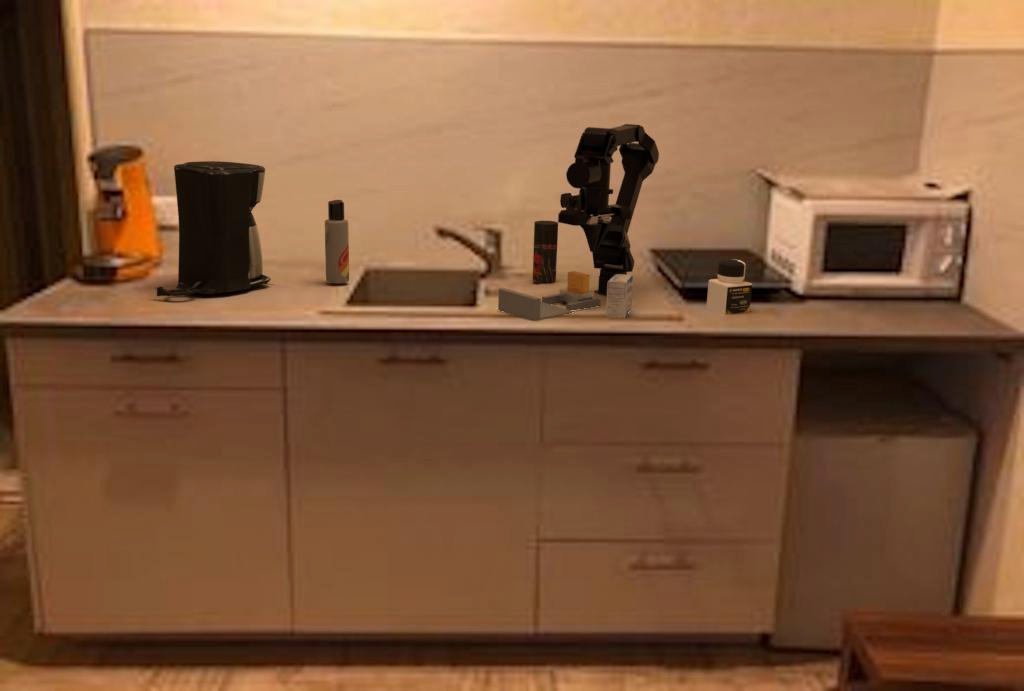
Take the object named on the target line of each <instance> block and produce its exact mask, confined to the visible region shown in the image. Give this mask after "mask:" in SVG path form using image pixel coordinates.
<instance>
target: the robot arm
mask: <svg viewBox="0 0 1024 691" xmlns="http://www.w3.org/2000/svg"><path fill="white" fill-rule="evenodd" d="M618 147H619V148H618ZM617 151H619V154H620V157H621V165H622V169H623V171H624V173H623V174H624V175H623V178H622V182H621V185H620V187H619V191H618V194H617V198H616V201H615V204H609V202H610V195H613V194H614V189H613V188H610V186H611V185H610V182H611V166H612V165H611V164H613V163H614V159H613V156H614V153H616V152H617ZM573 155H574V156H573V157H574V160H575V161H574V162H573V163H571V164H570V165H569V166H568V168H567V171H566V173H565V175H566V180H567V182H568V184H569V186H571V187H572V188H574V189H579V190H578V192H579V193H578V194H577V195H576V194H575V195H574V194H572V193H571V192H564V193H562V194H560V198H559V199H560V200H559V201H560V207H561V208H563V209H561V210H560V212H558V214H557V215H558V216H557V219H558V220H557V222H558V224H559V223H560V224H565V225H569V226H574V227H575V226H576V227H578V226H579V227H580V228H582V230H583V232H584V235H585V237H586V238H585V239H586V242H587V244H588V248H589V251H590V252H591V253H592V260H593V262H592V263H593V268H594V269H599V275H598V285H597V286H598V287H597V288H598V289H596V290H593V293H596V294H598V295H604V296H606V297H607V284H608V281H609V280H610V279H611V278H612V277H613V276H614V274H625V275H628V274H627V273H632V272H633V270H634V267H635V258H634V256H633V255H632V252H631V242H630V239H629V235H628V233H629V229H630V227H631V226H630V225H631V223H632V219H633V216H634V212H635V209H636V205H637V202H638V198H639V196H640V193H641V189H642V185H643V182H644V180H646V179H647V178H648V177H649V176H650V175H652V173H653V172H654V169H655V167H656V164H657V163H658V162H659V158H660V157H659V156H660V153H659V149H658V146H657V143H656V141H655V140H654V138H653V137H651V136H650V135H649V134H648V133H646V131H645V128H644V126H642V125H640V124H635V123H634V124H631V123H624V124H622V125H620V126H615V127H611V128H610V127H609V128H605V127H596V126H595V127H591V126H587V127H586V128H585V129H584V131H583V132H582V134H581V135H580V139H579V141H578V145H577V147H576V150H575V153H574V154H573Z"/></svg>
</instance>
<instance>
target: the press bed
mask: <svg viewBox="0 0 1024 691" xmlns="http://www.w3.org/2000/svg"><path fill="white" fill-rule="evenodd" d="M497 299H498V304H497V310H500V311H499V312H501V311H504V312H507V313H506V314H508V313H510V314H509V315H511V314H513V316H516V317H519V318H523V319H526V320H530V321H534V322H536V321H542V320H546V319H551V318H552V319H553V318H558V317H563V316H565V315H564V314H569V313H572V312H574V313H575V311H571V310H577V309H584V308H591V307H596V306H601V307H602V298H600V297H593V299H589V300H583V301H578V302H573V303H569V302H566V301H562V300H559V293H556V294H549V295H546V296H541V298H540V297H537V296H533V295H530V294H527V293H524V292H523V293H522V292H520V291H515V290H513V289H509V288H506V287H501V288H498V298H497ZM562 302H565V303H566V304H565V307H560V306H557V305H556V304H555V303H560V304H563V303H562ZM551 304H554V305H551ZM596 308H597V307H596ZM591 309H592V308H591ZM504 312H503V313H504ZM562 315H563V316H562ZM569 315H570V314H569Z"/></svg>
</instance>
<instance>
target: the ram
mask: <svg viewBox="0 0 1024 691" xmlns="http://www.w3.org/2000/svg"><path fill="white" fill-rule="evenodd" d="M566 287H567V288H561V289H559V293H558V294H559V300H562V301H566V302H565V303H573V302H578V301H583V300H589V299H594V290H593V291H591V290H590V274H589V273H583V272H580V271H576V270H571V271H568V272H567V286H566Z"/></svg>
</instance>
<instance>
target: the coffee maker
mask: <svg viewBox="0 0 1024 691" xmlns="http://www.w3.org/2000/svg"><path fill="white" fill-rule="evenodd" d="M173 170H174V182H175V183H174V184H175V192H176V194H175V195H176V202H177V203H176V205H177V215H178V272H177V273H178V279H177V280H178V281H177V286H175V288H174V289H169V290H167V289H165V288H164V286H157V287H154V289H156V296H157V297H180V296H186V295H192V294H193V295H194V294H201V295H214V294H222V293H223V294H224V293H232V292H238V291H243V290H250V289H251V288H252V287H256V286H260V285H263V284H264V285H265V284H268V283H269V282H270V281H271V280H272V279H271V277H269V276H267V275H265V274H263V254H262V253H263V252H262V246H261V239H260V233H259V228H258V225H257V222H256V220H255V217H254V215H253V213H252V211H253V209H254V208H256V206H257V205H258V204H259V203H261V200H262V196H263V190H264V183H265V178H266V177H265V175H266V168H265V167H264V166H263V165H262V166H261V165H259V164H252V163H244V162H243V163H242V162H235V161H234V162H233V161H218V160H217V161H216V160H215V161H213V160H211V161H209V160H207V161H202V160H201V161H188V162H184V163H180V164H175V165H174V166H173Z"/></svg>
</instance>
